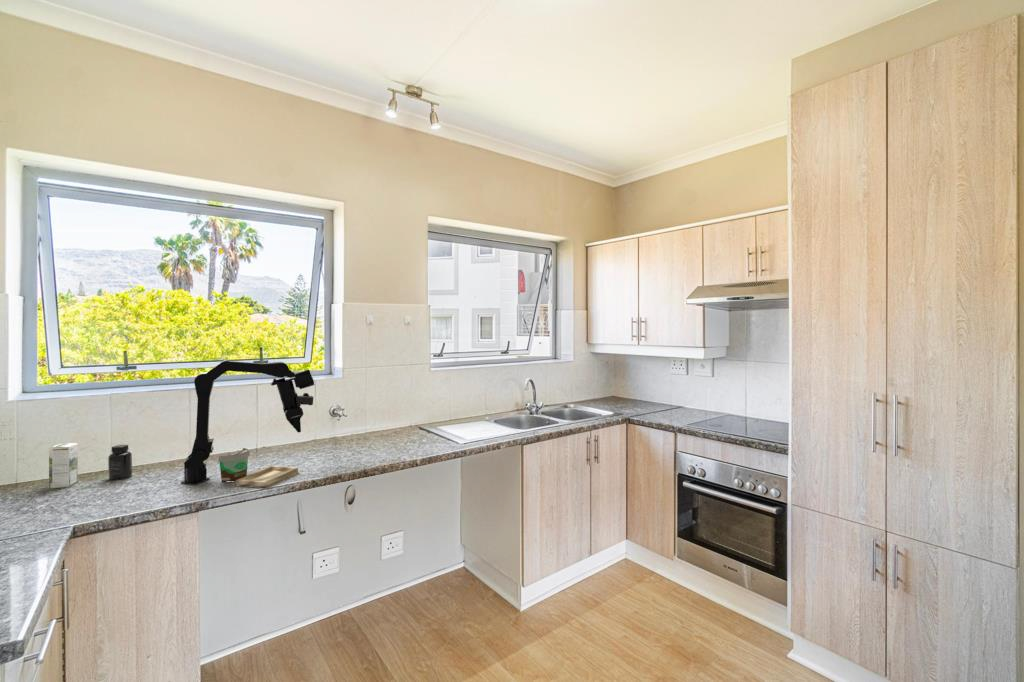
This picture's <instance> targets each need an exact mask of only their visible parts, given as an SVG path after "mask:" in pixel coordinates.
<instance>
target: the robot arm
mask: <svg viewBox="0 0 1024 682" xmlns="http://www.w3.org/2000/svg"><path fill="white" fill-rule="evenodd" d="M226 372H238V373H240V372H241V373H255V374H265V375H267V376H270V377H271V376H272V377H273V380H272V381H271V383H270V385H271V386H273V387H274V386H275V385H276V388H277V391H278V394H279V398H280V401H281V404H282V409H283V413H284V417H285V419H286V420H287V422H288V423H289V424H290V425H291V426H292V427H293V429H294V430H295V431H296V432H297V433H301V431H302V427H301V424H302V423H301V419H302V417H303V416H304V411H303V408H302V407H301V406H302V405H305V406H313V405H314V398H315V397H314V396H312V395H309V393H308V392H304V393H303V394H302V395H298V393H297V391H296V389H297V388H298V389H299V390H302V389H307V388H309V387H313V386H315V380H314V377H313V376H312V373H311V370H310V369H305V370H304V371H300V372H296V373H295V372H294V371H292V370H290V367H289V365H288V364H287V363H285V362H283V361H277V362H276V361H273V362H265V363H263V362H262V363H261V362H260V363H259V362H249V361H233V360H228V359H224V360H222V361H220V363H219V364H217V365H215V366H214V367H213V368H212V369H210V370H209V371H207V372H204V371H203V372H201V373H199V374H198V375H197V376H196V377H195V378H194V380H193V383H194V389H195V392H196V397H197V404H196V405H197V407H196V428H195V429H196V431H195V439H194V441H193V446H192V448H191V449H192V450H191V453H190V454H189V455H188V456H187V457H186V459H185V461H184V462H183V465H184V467H183V468H184V471H183V472H184V473H183V474H184V479H183V480H182V481H180V484H182V485H186V484H187V485H198V484H200V482H201V483H203V482H206V481H208V480H210V479H211V478H210V477H208V476H207V475H208V473H207V471H208V470H207V463H205V462H206V461H207V460H208V459H209V457H210V455H211V454H212V453H213V451H214V445H213V443H214V440H215V439H214V438H210V435H209V431H210V430H209V426H210V425H209V424H210V406H211V405H210V404H211V395H212V391H213V387H214V385H215V384H214V383H215V380H217V379H219V377H221V376H222V375H223V374H225V373H226ZM274 377H275V378H274ZM285 377H287V378H288V379H287V378H285ZM276 378H278V379H276ZM295 388H296V389H295ZM184 483H185V484H184ZM197 483H198V484H197Z"/></svg>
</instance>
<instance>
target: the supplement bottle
mask: <svg viewBox="0 0 1024 682" xmlns="http://www.w3.org/2000/svg"><path fill="white" fill-rule="evenodd" d="M110 452H111V453H110V454H109V455H108V458H107V461H108V463H107V464H108V465H107V466H108V468H107V469H108V479H109V480H110V481H119V480H120V481H121V480H125V479H129V478H131V477H132V476H133V453H132V452H130V451H129V444H117V445H113V446H111V451H110Z"/></svg>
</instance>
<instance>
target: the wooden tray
mask: <svg viewBox="0 0 1024 682" xmlns="http://www.w3.org/2000/svg"><path fill="white" fill-rule="evenodd" d="M296 473H297V474H299V467H293V466H283V465H282V466H280V465H279V466H278V465H270V466H267V467H265V468H262V469H260V470H258V471H255V472H252V473H250V474H247V476H245V477H242V478H240V479H238V480H236V481H235V486H236V485H239V486H238V487H244V486H252V487H251V488H257V487H260V489H266V488H269V487H271V486H273V485H275V484H277V483H279V481H280V482H281V480H282V481H283V479H284V480H286V479H288V478H290V477H292V476H294V474H295V475H297V474H296ZM287 477H288V478H287ZM285 478H286V479H285Z"/></svg>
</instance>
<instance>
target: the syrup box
mask: <svg viewBox="0 0 1024 682" xmlns="http://www.w3.org/2000/svg"><path fill="white" fill-rule="evenodd" d="M78 446H79V445H78V443H77V442H75V443H74V442H70V443H69V442H68V443H67V442H66V443H65V442H64V443H58V444H55V445H52V446H51V447H49V448H48V474H49V475H48V489H58V488H69V487H71V486H74V485H75V484H76V483H78V476H79V475H78V466H79V465H78V462H79V461H78Z"/></svg>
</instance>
